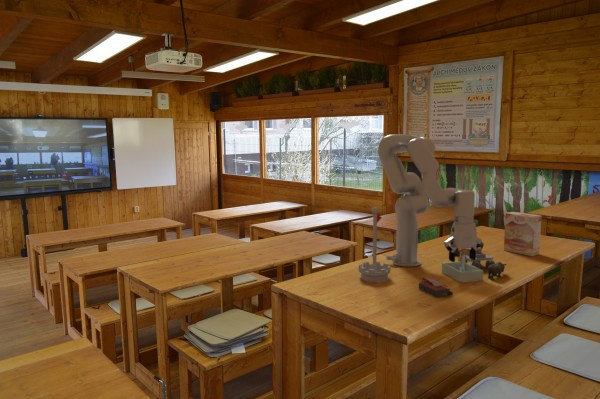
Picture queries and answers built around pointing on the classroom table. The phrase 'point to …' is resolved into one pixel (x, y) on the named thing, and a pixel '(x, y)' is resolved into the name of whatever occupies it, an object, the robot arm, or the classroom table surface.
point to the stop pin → (462, 259)
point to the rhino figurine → (495, 270)
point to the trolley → (479, 258)
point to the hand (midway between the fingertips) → (462, 260)
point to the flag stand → (374, 258)
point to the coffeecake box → (522, 233)
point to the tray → (469, 274)
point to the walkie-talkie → (434, 288)
